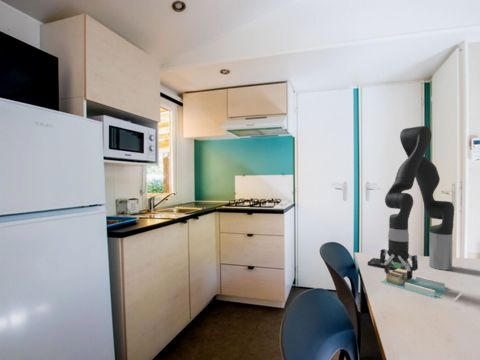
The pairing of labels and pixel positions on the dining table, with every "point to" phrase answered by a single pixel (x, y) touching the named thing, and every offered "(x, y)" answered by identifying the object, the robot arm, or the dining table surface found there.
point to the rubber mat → (413, 281)
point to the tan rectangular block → (396, 276)
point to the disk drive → (376, 263)
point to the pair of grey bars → (422, 289)
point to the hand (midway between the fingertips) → (397, 276)
